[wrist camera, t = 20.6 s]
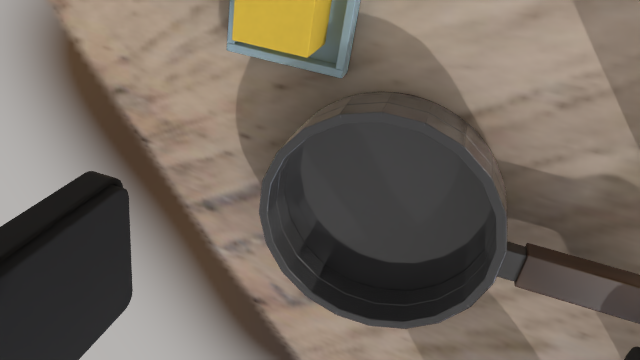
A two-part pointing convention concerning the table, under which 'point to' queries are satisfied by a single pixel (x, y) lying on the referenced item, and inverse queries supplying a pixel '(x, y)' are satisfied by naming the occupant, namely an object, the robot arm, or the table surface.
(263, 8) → the sponge
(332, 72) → the light blue tray
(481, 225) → the pan
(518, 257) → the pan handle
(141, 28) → the table surface
